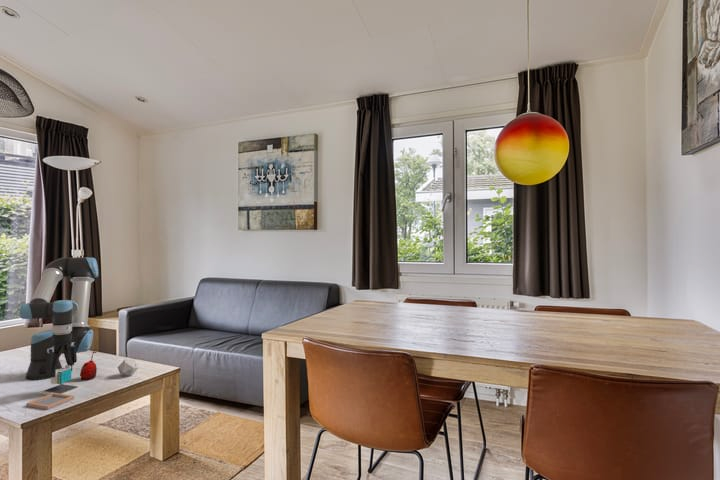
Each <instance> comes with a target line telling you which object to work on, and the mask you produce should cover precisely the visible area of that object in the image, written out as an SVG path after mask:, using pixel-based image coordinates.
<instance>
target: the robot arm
mask: <svg viewBox="0 0 720 480" xmlns="http://www.w3.org/2000/svg"><path fill="white" fill-rule="evenodd" d="M98 267H99V266H98V262H97V259H96V258H95V257H87V256H85V257H84V256H83V257H80V256H79V257H60V258H58V259H55V260H53V261H51V262H49V263H48V264H47V265H46V266H44V268H43V269H42V271H41V274H40V277H41V278H40V281H39V283H38V284H37V287H36V289H35V291H34V293H33V295H32V297H31V299H30V301H29V302H26V303H23V304H21V305H20V307H19V317H20V318H21V319H22V320H34V319H35V320H36V319H39V320H40V319H48V318H49V319H52V328H51V329H47V330H43V331H39V332H37V333H34V334H33V335H32V336H31V338H30V363H29V366H28V368H27V371H26V373H25V379H26V380H32V381H36V380H37V381H38V380H44V379H50V383H51V385H58V384H57V378H58V370H56V369H59V368H63V367H62V364H61V362H60V357H61V355H63V356H64V359H65V362H66V365H65V367H64V368H71V372H73V366H74V365H75V363H77V361H78V360H77V353H78V354H79V353H83V352H84V353H85V352H89V350H90V349H91V347H92V344H93V340H94V330H93V329H91V326H90V325H89V324H88V321H89V312H90V311H89V309H90V299H91V297H90V296H91V288H92V283H93V282H95V278H98V277H99V268H98ZM64 278H65V279H66V278H67V279H69V281H70V282H71V283H72V288H71V297H70V299H62V300H56V301H54V302H51V299H52V297H53V295H54V293H55V291H56V288H57V285H58V284H59V282H60V281H61V280H63V279H64Z"/></svg>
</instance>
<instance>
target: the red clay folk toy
mask: <svg viewBox="0 0 720 480" xmlns="http://www.w3.org/2000/svg"><path fill="white" fill-rule="evenodd" d="M96 353H97V351H96V349H94V350H93V351H92V355H91V356H90V357H91V359H90V360H89V361H87V362H84V363H83V365H82V367H81V369H80V373H79V376H80V381H89V380H92V379H95V378H96V377H97V372H98V371H97V370H98V367H97V363H95V362H94V360H93V358H94V356H93V355H94V354H96Z"/></svg>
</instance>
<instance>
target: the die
mask: <svg viewBox="0 0 720 480" xmlns="http://www.w3.org/2000/svg"><path fill="white" fill-rule="evenodd" d="M138 369H139V366H138V364H137V361H136V359H127V358H126V359H124V360H122V362H121V363H120V364H119V365H118V366H117V370H118V372H119V374H120V376H121V377H132V376H133V375H134V374H135V372H137V370H138Z"/></svg>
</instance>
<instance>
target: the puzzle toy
mask: <svg viewBox="0 0 720 480" xmlns="http://www.w3.org/2000/svg"><path fill="white" fill-rule="evenodd" d="M56 370H58V378H57V384H56V385H60V384H65V383H66V382H69V381H71V380H72V371H71V368H65V367H62V368H59V369H56Z"/></svg>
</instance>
